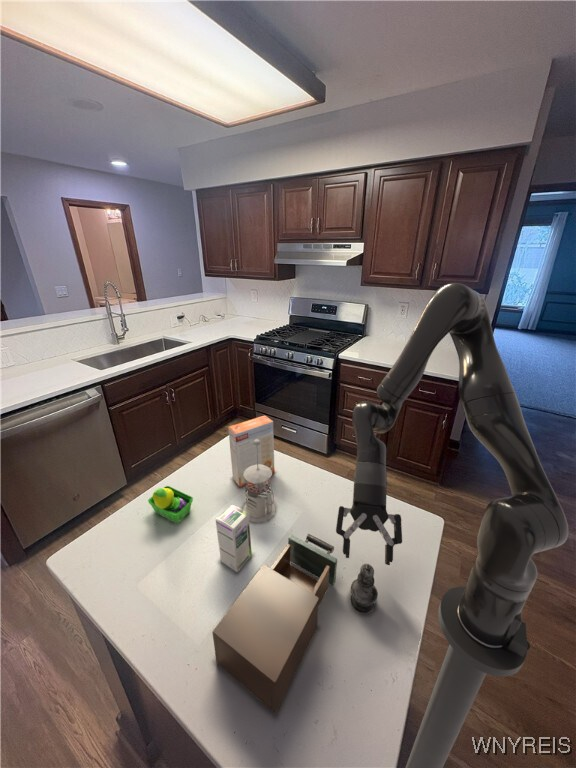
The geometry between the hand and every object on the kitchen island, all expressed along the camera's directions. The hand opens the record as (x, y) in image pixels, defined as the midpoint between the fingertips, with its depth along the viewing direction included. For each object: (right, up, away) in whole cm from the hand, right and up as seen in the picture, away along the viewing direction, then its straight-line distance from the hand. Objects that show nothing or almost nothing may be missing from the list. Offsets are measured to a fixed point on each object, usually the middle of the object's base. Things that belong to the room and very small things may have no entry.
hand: (366, 560), depth 68 cm
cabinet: (-21, -13, -6) cm, 26 cm away
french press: (-25, 0, +26) cm, 37 cm away
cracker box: (-29, +6, +41) cm, 51 cm away
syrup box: (-31, -6, +12) cm, 33 cm away
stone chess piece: (-1, -10, +2) cm, 11 cm away
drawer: (-14, -8, +4) cm, 17 cm away
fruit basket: (-52, 0, +25) cm, 58 cm away
